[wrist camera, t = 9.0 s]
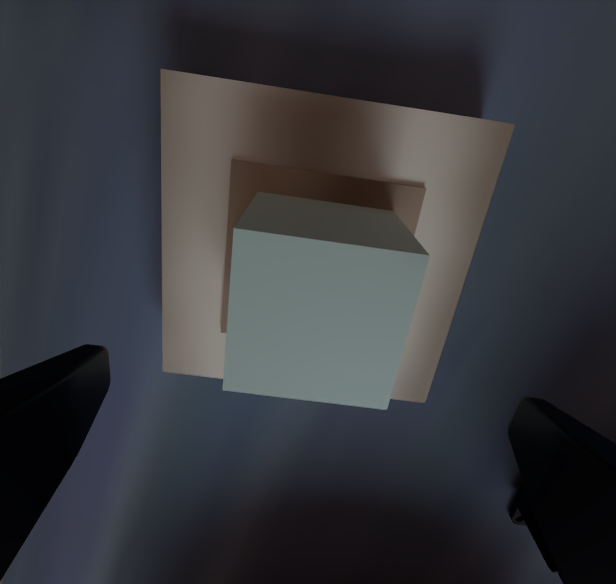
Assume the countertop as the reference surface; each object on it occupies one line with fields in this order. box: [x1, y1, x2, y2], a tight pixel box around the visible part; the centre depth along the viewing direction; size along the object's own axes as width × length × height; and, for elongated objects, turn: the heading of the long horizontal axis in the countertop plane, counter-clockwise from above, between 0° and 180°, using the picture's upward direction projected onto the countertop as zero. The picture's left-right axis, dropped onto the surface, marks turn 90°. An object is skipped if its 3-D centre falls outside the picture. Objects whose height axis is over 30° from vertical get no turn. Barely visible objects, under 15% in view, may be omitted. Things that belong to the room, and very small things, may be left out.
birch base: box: [161, 69, 515, 403], centre depth 17 cm, size 12×12×3 cm
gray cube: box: [223, 192, 430, 410], centre depth 13 cm, size 5×5×5 cm
